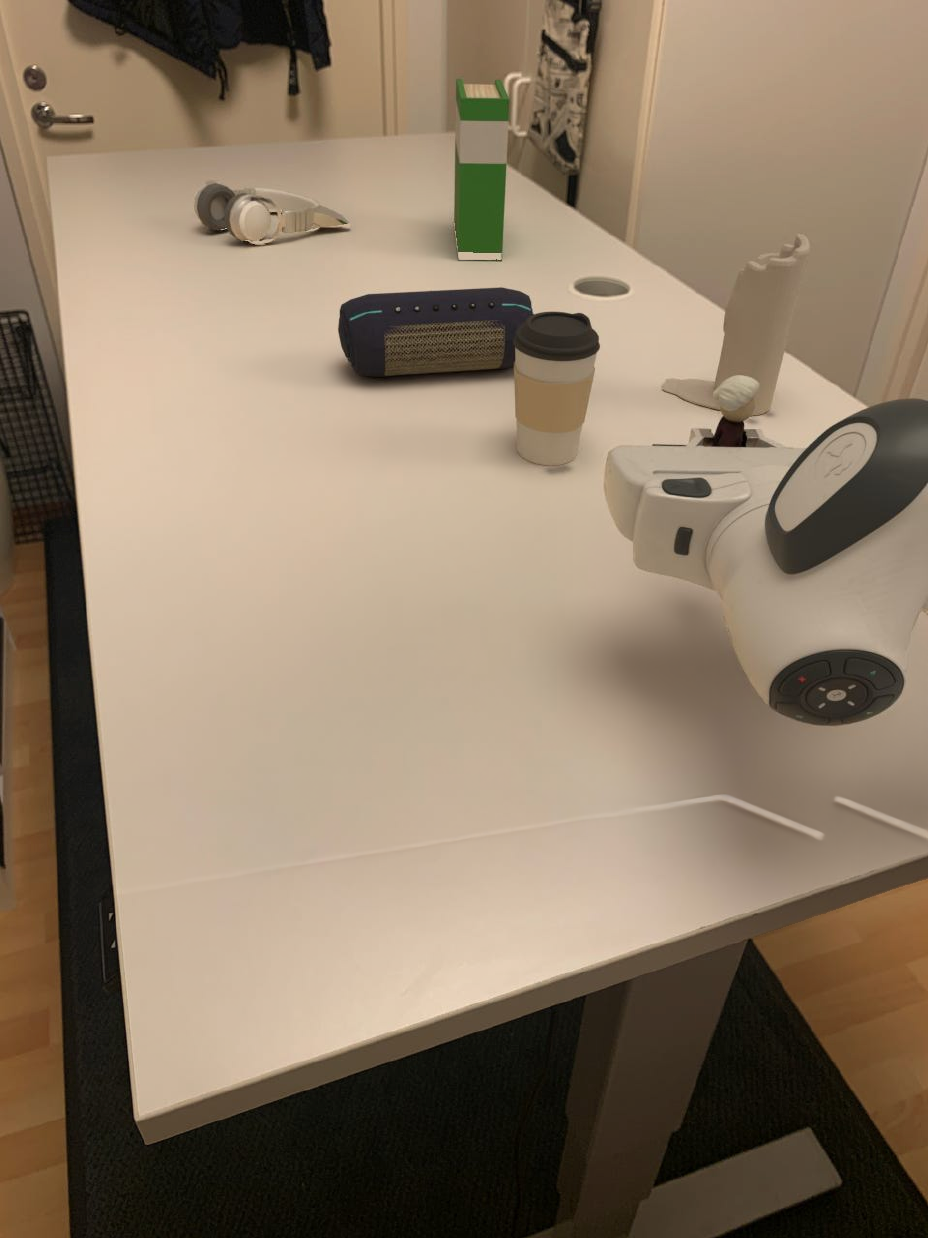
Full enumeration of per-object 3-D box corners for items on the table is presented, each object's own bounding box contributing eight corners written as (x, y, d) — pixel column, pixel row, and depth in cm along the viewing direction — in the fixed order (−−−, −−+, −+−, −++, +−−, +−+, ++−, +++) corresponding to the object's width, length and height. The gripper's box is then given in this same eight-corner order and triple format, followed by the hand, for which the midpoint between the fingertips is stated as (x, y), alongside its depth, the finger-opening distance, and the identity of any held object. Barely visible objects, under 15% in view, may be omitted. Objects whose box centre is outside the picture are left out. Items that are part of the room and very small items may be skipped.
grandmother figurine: (739, 546, 73) (773, 400, 65) (690, 541, 74) (718, 395, 66) (734, 497, 79) (765, 357, 71) (689, 492, 79) (714, 353, 71)
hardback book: (454, 229, 167) (456, 78, 151) (494, 229, 167) (500, 79, 152) (458, 260, 153) (460, 98, 138) (501, 260, 153) (509, 99, 138)
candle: (672, 373, 119) (700, 212, 107) (777, 398, 114) (819, 232, 101) (652, 393, 114) (679, 227, 102) (761, 421, 109) (804, 249, 97)
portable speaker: (346, 392, 113) (341, 312, 107) (338, 359, 120) (333, 283, 114) (540, 379, 117) (547, 301, 111) (521, 348, 125) (526, 274, 118)
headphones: (252, 252, 152) (351, 242, 166) (251, 202, 148) (353, 196, 162) (178, 223, 163) (277, 216, 178) (175, 176, 159) (277, 173, 173)
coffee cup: (529, 476, 98) (540, 342, 88) (493, 439, 104) (499, 309, 95) (602, 461, 101) (619, 329, 91) (562, 425, 107) (575, 299, 98)
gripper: (934, 496, 60) (865, 402, 71) (623, 491, 60) (601, 397, 71) (904, 573, 64) (843, 473, 75) (612, 568, 64) (593, 469, 75)
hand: (723, 436), depth 73 cm, fingers closed on grandmother figurine, 3 cm apart
